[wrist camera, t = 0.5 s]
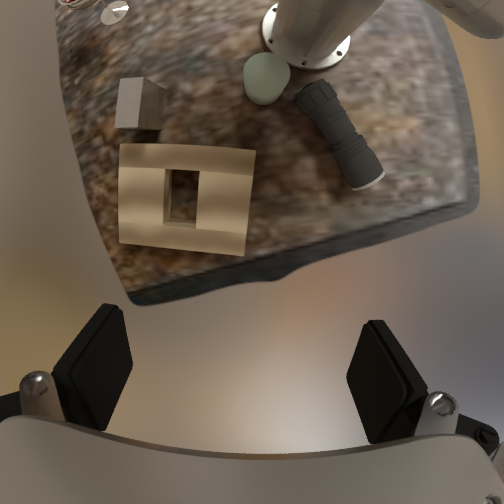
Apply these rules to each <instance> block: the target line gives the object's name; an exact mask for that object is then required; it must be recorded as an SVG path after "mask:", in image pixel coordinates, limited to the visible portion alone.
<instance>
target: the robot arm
mask: <svg viewBox="0 0 504 504" xmlns="http://www.w3.org/2000/svg"><path fill="white" fill-rule="evenodd" d="M424 1H425V2H427V3H428V4H430V5H431V6H433V7H434V8H435V9H437V10H438V11H440V12H441V13H442V14H444V15H445V16H447V17H448V18H449V19H451V20H452V21H453V22H455V23H456V24H458V25H459V26H460V27H461V28H463V29H464V30H466V31H467V32H469V33H471V34H473V35H475V36H477V37H480V38H485V39H499V38H503V37H504V0H424ZM383 2H384V0H278V3H276V4H275V5H273V6H272V7H271V8H270V9H269V10H268V11H267V13H266V14H265V16H264V18H263V22H262V37H263V39H264V42H265V44H266V46H267V47H268V49H269V50H270V51H271V52H272V53H274V54H276V55H278V56H280V57H282V58H283V59H284V60H285V61H286V62H287V64H288V65H290V66H293V67H295V68H299V69H304V70H321V69H325V68H329V67H331V66H333V65H335V64H336V63H337V62H339V61H340V60H341V59H342V58H343V57H344V56H345V55H346V53H347V51H348V49H349V46H350V34H352V33H353V32H354V31H355V30H356V29H357V28H358V27H359V26H360V25H361V24H362V23H363V22H364V21H365V20H366V19H367V18H368V17H369V16H370V15H371V14H372V13H373V12H375V11H376V10H377V9H378V8H379V7H380V6H381V4H382V3H383ZM270 41H272V42H273V43H269V42H270ZM337 54H339V56H338V55H337ZM302 63H304V64H305V65H302ZM132 367H133V361H132V356H131V352H130V347H129V342H128V338H127V333H126V327H125V322H124V316H123V311H122V310H121V309H119V307H118V306H117V305H113V304H106V303H104V304H102V305H101V307H100V308H99V309H98V310H97V311H96V313H95V314H94V315H93V316H92V318H91V319H90V320H89V322H88V323H87V324H86V325H85V326H84V328H83V329H82V330H81V332H80V333H79V334H78V335H77V337H76V338H75V340H74V341H73V342H72V343H71V345H70V346H69V347H68V349H67V350H66V351H65V353H64V354H63V355H62V357H61V358H60V360H59V361H58V362H57V364H56V365H55V366H54V368H53V369H54V370H53V371H52V373H51V374H49V373H48V372H46V371H33V372H30V373H28V374H27V375H25V377H23V378H22V380H21V382H20V384H19V391H17V392H14V393H11V394H7V395H4V396H0V504H504V442H502V443H501V444H500V443H499V436H498V433H497V432H496V430H495V429H494V428H493V427H491V426H489V425H487V424H484V423H482V422H479V421H477V420H474V419H472V418H469V417H467V416H464V415H461V414H459V405H458V403H457V401H456V400H455V399H454V397H452V396H451V395H450V394H448V393H446V392H442V391H435V392H432V393H430V394H429V393H428V392H427V389H428V387H427V385H426V384H425V382H424V380H423V379H422V377H421V376H420V374H419V372H418V371H417V369H416V368H415V366H414V365H413V363H412V362H411V360H410V359H409V357H408V356H407V354H406V353H405V351H404V349H403V348H402V346H401V345H400V344H399V342H398V341H397V339H396V338H395V336H394V335H393V333H392V332H391V330H390V329H389V327H388V326H387V325H386V323H385V322H384V321H383V320H369V321H368V322H367V324H364V325H363V328H362V331H361V334H360V337H359V340H358V343H357V346H356V349H355V352H354V355H353V358H352V361H351V363H350V366H349V369H348V372H347V376H346V378H347V383H348V386H349V388H350V391H351V394H352V396H353V399H354V402H355V405H356V408H357V410H358V413H359V416H360V419H361V422H362V424H363V427H364V430H365V433H366V436H367V439H368V442H369V443H370V444H372V445H366V446H361V447H353V448H347V449H339V450H331V451H320V452H308V453H289V454H242V453H223V452H211V451H201V450H192V449H183V448H177V447H169V446H163V445H158V444H153V443H148V442H143V441H138V440H134V439H129V438H125V437H120V436H117V435H113V434H109V433H105V432H101V431H105V430H106V428H107V426H108V424H109V421H110V419H111V416H112V414H113V412H114V409H115V407H116V404H117V402H118V400H119V397H120V395H121V393H122V390H123V388H124V386H125V384H126V381H127V379H128V377H129V375H130V372H131V370H132Z"/></svg>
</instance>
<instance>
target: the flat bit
mask: <svg viewBox="0 0 504 504" xmlns="http://www.w3.org/2000/svg"><path fill="white" fill-rule="evenodd" d="M165 94H166V89H164V88H162V87H160V86H159V85H157V84H155V83H153V82H152V81H150V80H148V79H146V78H145V77H137V78H125V79H120V85H119V92H118V100H117V108H116V118H115V128H125V129H139V130H161V129H162V119H163V110H164V102H165Z"/></svg>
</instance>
